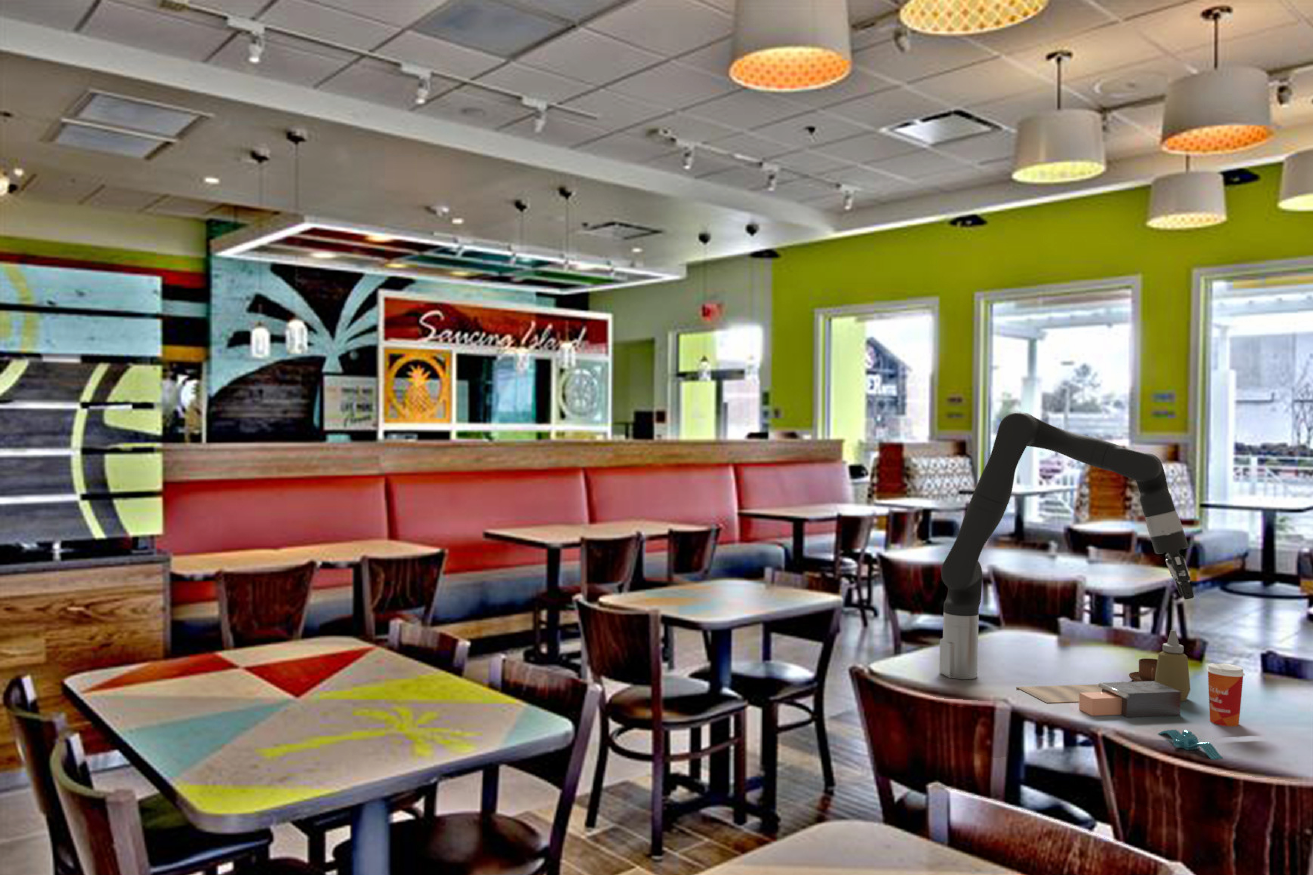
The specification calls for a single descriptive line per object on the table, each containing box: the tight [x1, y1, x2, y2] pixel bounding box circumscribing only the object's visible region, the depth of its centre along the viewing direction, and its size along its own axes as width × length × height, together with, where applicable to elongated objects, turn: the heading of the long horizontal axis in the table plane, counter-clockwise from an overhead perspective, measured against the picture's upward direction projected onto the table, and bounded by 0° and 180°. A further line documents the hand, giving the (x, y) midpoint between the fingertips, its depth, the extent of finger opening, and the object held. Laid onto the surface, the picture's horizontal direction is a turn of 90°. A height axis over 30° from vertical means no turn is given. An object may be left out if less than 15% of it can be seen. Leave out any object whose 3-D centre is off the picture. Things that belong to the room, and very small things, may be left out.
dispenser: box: [1097, 681, 1182, 719], centre depth 230 cm, size 15×10×7 cm
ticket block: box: [1078, 692, 1122, 717], centre depth 229 cm, size 18×5×4 cm, turn 100°
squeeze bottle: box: [1155, 629, 1191, 702], centre depth 241 cm, size 8×8×18 cm
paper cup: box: [1205, 662, 1246, 727], centre depth 221 cm, size 8×8×14 cm
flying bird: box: [1157, 729, 1223, 761], centre depth 206 cm, size 15×7×4 cm, turn 20°
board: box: [1015, 683, 1102, 704], centre depth 244 cm, size 26×14×1 cm, turn 100°
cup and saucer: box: [1128, 657, 1158, 682], centre depth 258 cm, size 12×12×6 cm
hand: (1187, 596), depth 233 cm, fingers open, 8 cm apart
